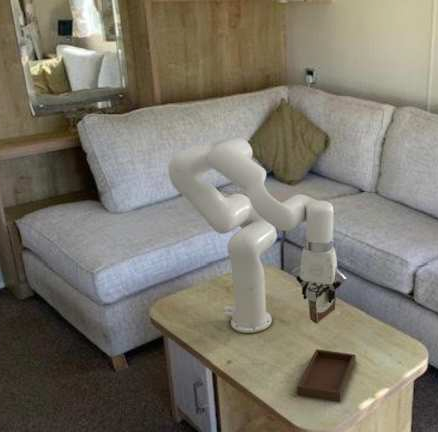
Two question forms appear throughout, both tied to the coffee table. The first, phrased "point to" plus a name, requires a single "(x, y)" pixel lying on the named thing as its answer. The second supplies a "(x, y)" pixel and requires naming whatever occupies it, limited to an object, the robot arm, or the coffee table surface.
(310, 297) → the lattice half-cylinder
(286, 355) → the coffee table surface
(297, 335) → the coffee table surface
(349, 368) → the tray
